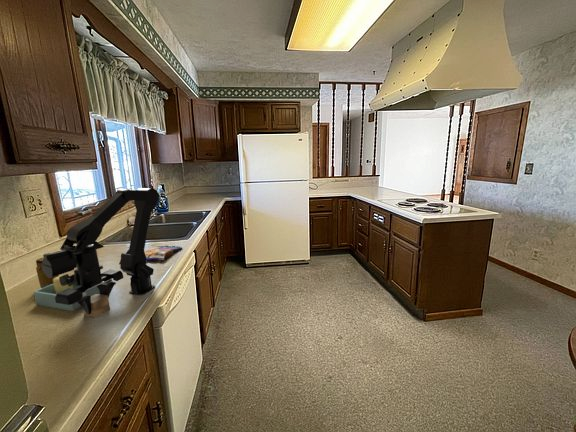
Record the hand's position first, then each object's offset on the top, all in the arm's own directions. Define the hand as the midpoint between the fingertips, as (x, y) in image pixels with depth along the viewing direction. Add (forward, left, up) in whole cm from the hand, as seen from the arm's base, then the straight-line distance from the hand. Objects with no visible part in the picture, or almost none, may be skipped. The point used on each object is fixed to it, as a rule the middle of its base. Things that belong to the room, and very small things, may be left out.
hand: (96, 309), depth 89 cm
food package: (-51, -18, -2) cm, 54 cm away
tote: (-5, -17, -1) cm, 18 cm away
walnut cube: (0, 0, -1) cm, 1 cm away
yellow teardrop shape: (-5, -21, 0) cm, 22 cm away
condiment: (-10, -35, -1) cm, 36 cm away
